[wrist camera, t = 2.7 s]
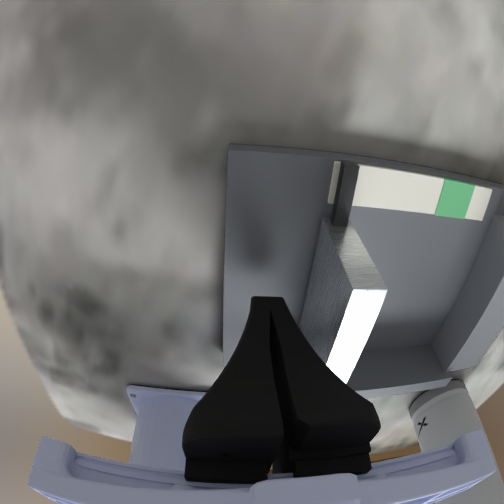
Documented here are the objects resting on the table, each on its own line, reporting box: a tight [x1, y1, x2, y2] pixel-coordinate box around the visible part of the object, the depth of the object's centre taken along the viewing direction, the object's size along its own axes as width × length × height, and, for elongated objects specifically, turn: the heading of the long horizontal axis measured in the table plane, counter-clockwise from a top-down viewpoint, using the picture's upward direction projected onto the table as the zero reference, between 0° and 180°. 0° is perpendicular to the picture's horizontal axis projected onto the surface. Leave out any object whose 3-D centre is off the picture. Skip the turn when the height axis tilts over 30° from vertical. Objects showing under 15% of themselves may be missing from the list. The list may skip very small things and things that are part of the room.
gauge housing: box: [223, 144, 504, 399], centre depth 15 cm, size 13×17×4 cm
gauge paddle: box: [299, 161, 388, 383], centre depth 13 cm, size 11×1×5 cm, turn 176°
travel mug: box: [409, 380, 504, 504], centre depth 17 cm, size 6×7×20 cm
